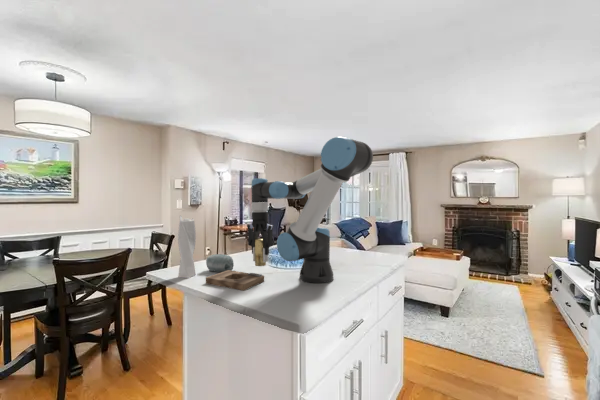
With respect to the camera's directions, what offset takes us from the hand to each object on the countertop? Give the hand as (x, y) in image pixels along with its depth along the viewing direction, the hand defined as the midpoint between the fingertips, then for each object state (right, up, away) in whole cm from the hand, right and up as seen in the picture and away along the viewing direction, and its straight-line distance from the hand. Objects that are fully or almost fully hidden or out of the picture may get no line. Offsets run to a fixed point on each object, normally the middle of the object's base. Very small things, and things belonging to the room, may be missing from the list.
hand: (260, 261), depth 136 cm
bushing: (0, -2, 0) cm, 2 cm away
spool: (-21, -7, +7) cm, 23 cm away
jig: (-9, -7, -12) cm, 16 cm away
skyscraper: (-34, -7, -3) cm, 34 cm away
